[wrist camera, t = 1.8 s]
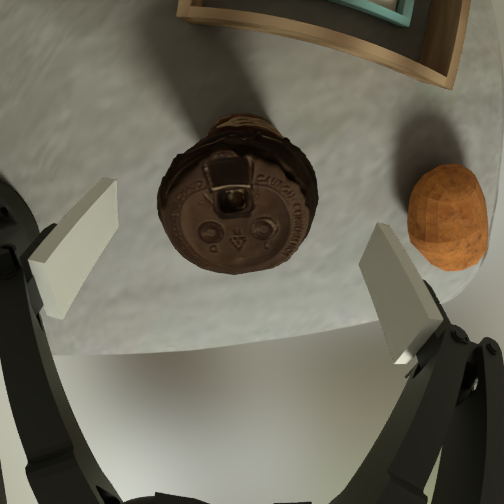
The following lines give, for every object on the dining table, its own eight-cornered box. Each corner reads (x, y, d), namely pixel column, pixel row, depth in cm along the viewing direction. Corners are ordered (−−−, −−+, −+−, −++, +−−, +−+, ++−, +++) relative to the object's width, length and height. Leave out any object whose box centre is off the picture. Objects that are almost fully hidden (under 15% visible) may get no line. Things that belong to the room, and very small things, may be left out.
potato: (401, 254, 32) (426, 300, 26) (386, 164, 26) (422, 201, 20) (465, 229, 30) (498, 269, 24) (462, 141, 24) (508, 171, 18)
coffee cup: (230, 77, 22) (209, 96, 11) (313, 133, 24) (362, 201, 14) (177, 161, 26) (126, 245, 15) (255, 207, 29) (257, 310, 18)
